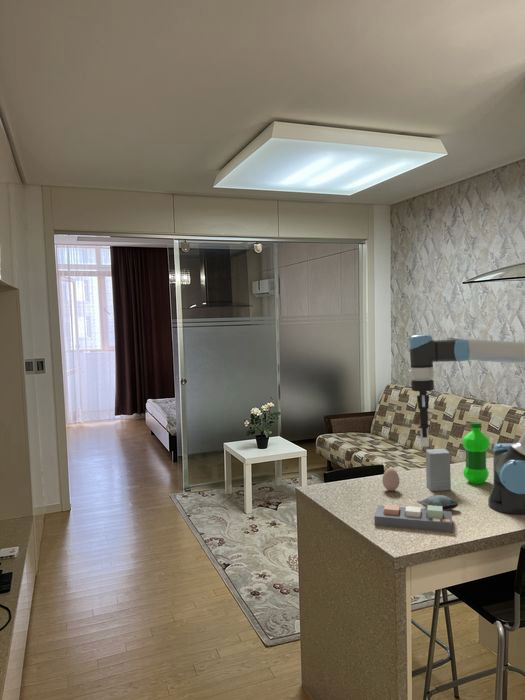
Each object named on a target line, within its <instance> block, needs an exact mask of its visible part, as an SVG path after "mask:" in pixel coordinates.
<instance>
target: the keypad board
mask: <svg viewBox="0 0 525 700" xmlns="http://www.w3.org/2000/svg"><path fill="white" fill-rule="evenodd" d="M384 508H385V505H381V504H380V505H379V504H378V505H377V507H376V510H375V513H374V517H373V518H374V526H383V527H392V528H401V529H402V528H403V529H414V530H421V531H422V530H424V531H432V532H440V533H441V532H444V533H453V516H452V510H451V511H450V510H446V511H443V519H438V518H427V508H426V509H425V508H421V517H411V516H405V510H406V506H405V507H404V506H403V507H402V506H400V515H389V514H384Z"/></svg>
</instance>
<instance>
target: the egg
mask: <svg viewBox="0 0 525 700" xmlns="http://www.w3.org/2000/svg"><path fill="white" fill-rule="evenodd" d="M381 482H382V485H383V487H384V489H385V490H387V491H389V492H395V490H398V487H399V486H400V477H399V474H398V472H397V470H395V469H394V468H393V467H392V468H391V467H390V468H389V467H388V468H387V469H386V470H385V471H384V472H383V475H382V481H381Z"/></svg>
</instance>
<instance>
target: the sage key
mask: <svg viewBox="0 0 525 700" xmlns="http://www.w3.org/2000/svg"><path fill="white" fill-rule="evenodd" d="M426 509H427V518H438V519H443V508H442V506H432V505H428V506H427V508H426Z"/></svg>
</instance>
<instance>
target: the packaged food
mask: <svg viewBox="0 0 525 700" xmlns="http://www.w3.org/2000/svg"><path fill="white" fill-rule="evenodd" d="M416 501H417V503H418V504H419V505H422V507H424V508H426V509H427V506H428V505H432V506H442V508H443V511H450V510H452V509H456V508H457V507H459V503H457V501H456V500H454V499H452V498H451V497H449V496H446V495H442V494H435V495H431V496H430V495H429V496H427V497H425V498H422V499H421V500H416Z"/></svg>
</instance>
